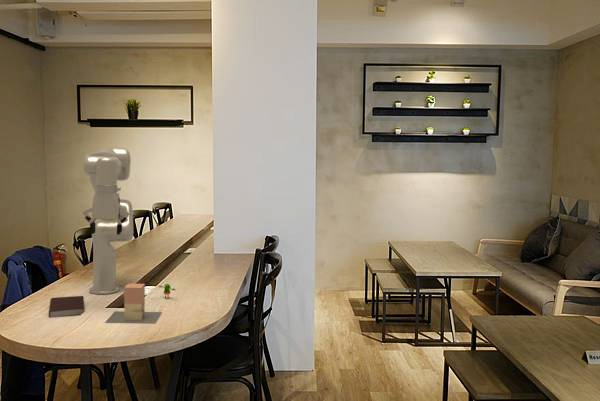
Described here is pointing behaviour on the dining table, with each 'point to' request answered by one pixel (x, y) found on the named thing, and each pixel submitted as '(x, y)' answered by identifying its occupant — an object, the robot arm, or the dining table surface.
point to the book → (66, 306)
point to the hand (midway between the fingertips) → (106, 233)
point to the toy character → (166, 289)
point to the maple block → (134, 311)
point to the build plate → (147, 319)
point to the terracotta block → (134, 293)
